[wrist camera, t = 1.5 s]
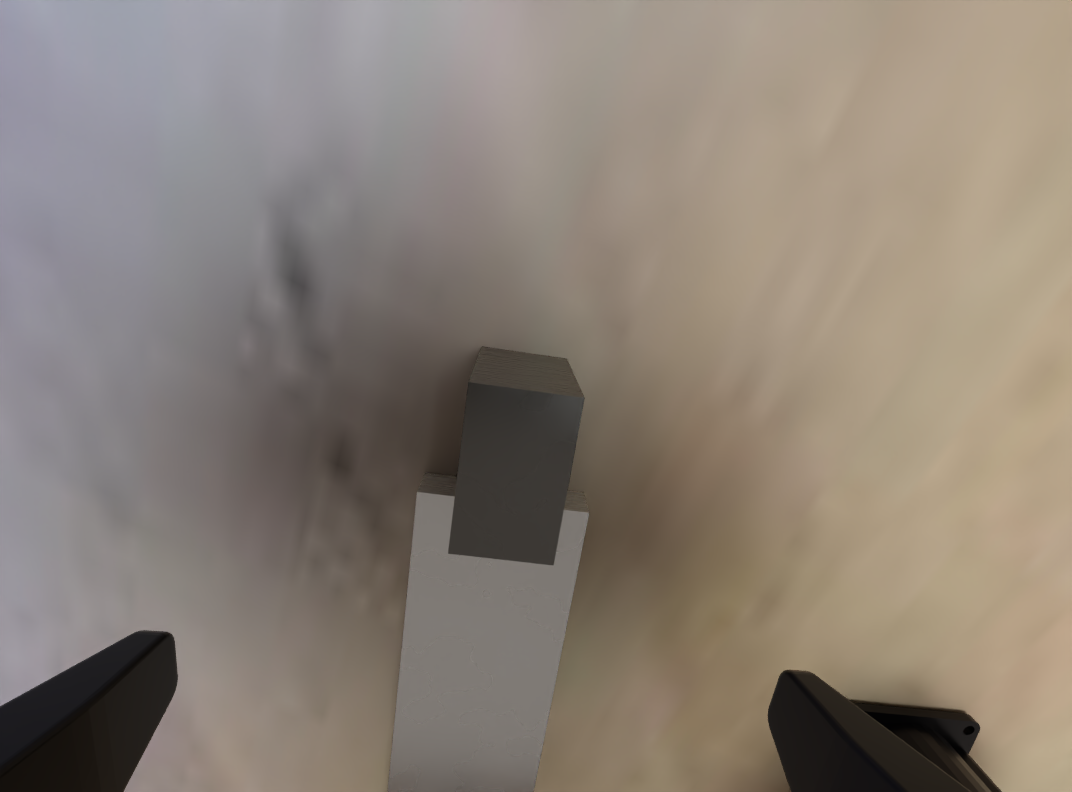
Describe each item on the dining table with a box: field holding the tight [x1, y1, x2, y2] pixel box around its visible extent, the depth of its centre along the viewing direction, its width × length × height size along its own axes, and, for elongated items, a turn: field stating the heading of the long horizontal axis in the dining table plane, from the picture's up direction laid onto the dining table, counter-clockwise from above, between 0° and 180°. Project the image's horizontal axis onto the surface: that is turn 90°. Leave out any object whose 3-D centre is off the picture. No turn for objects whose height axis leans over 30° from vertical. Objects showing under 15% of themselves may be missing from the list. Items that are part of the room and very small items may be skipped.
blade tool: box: [388, 347, 589, 792], centre depth 19 cm, size 6×23×5 cm, turn 171°
